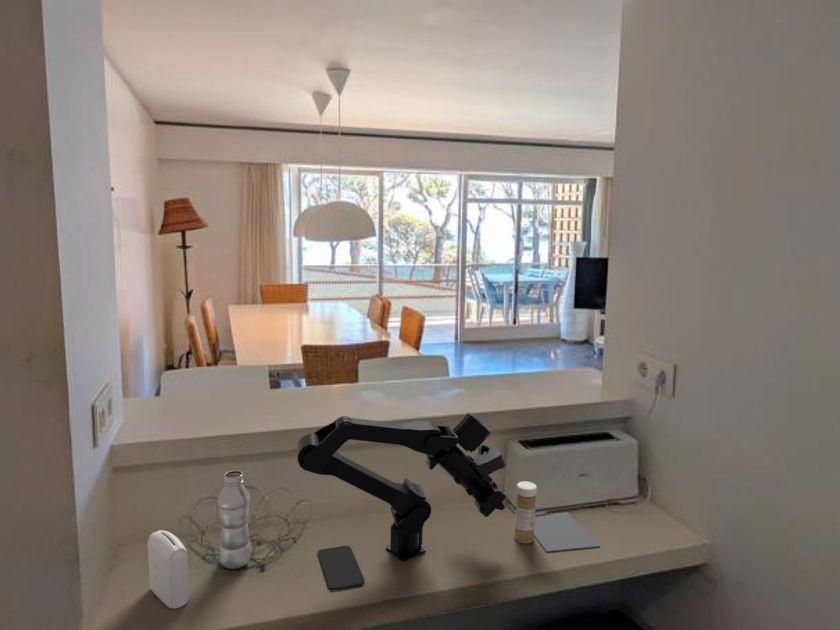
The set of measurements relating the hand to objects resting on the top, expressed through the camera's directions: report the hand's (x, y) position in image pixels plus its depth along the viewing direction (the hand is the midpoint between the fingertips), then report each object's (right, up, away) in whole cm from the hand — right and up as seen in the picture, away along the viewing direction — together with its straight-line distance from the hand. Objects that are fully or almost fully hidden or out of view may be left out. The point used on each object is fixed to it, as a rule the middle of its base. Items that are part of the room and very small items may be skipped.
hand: (503, 508), depth 135 cm
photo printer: (-67, -10, -21) cm, 71 cm away
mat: (+14, -8, +6) cm, 17 cm away
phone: (-36, -10, -11) cm, 38 cm away
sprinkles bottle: (+5, -8, +2) cm, 10 cm away
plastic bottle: (-58, -9, -11) cm, 59 cm away
